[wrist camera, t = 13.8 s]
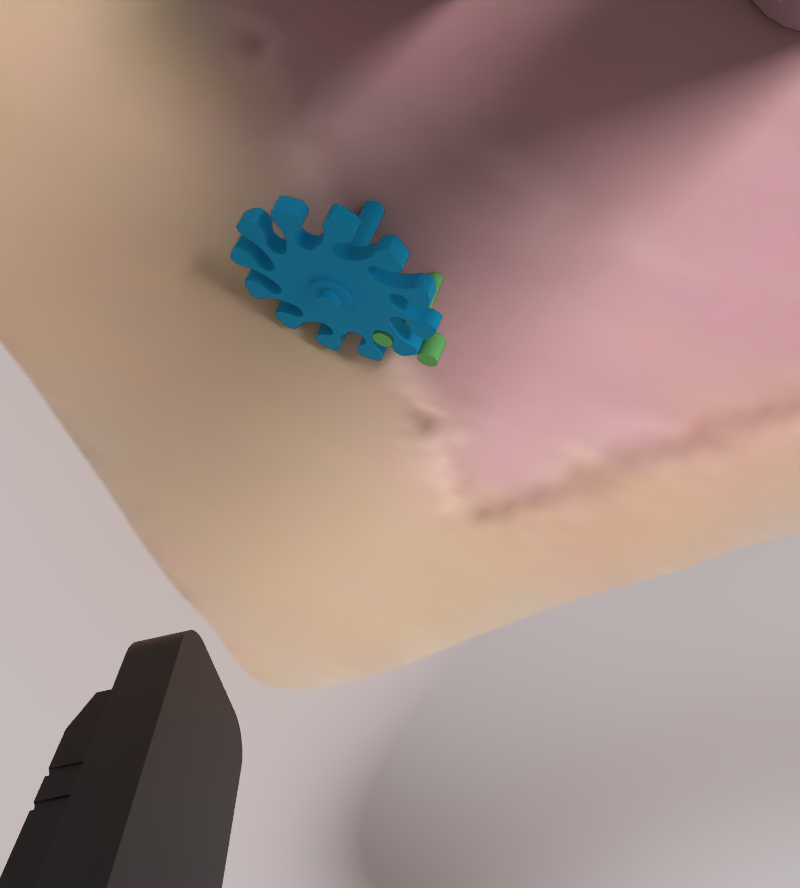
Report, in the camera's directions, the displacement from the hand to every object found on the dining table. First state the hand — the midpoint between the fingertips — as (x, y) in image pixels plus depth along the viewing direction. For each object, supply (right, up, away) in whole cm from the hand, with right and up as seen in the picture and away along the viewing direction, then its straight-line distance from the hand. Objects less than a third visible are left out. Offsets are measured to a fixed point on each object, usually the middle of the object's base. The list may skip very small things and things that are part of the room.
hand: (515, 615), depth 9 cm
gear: (-4, +11, +28) cm, 30 cm away
